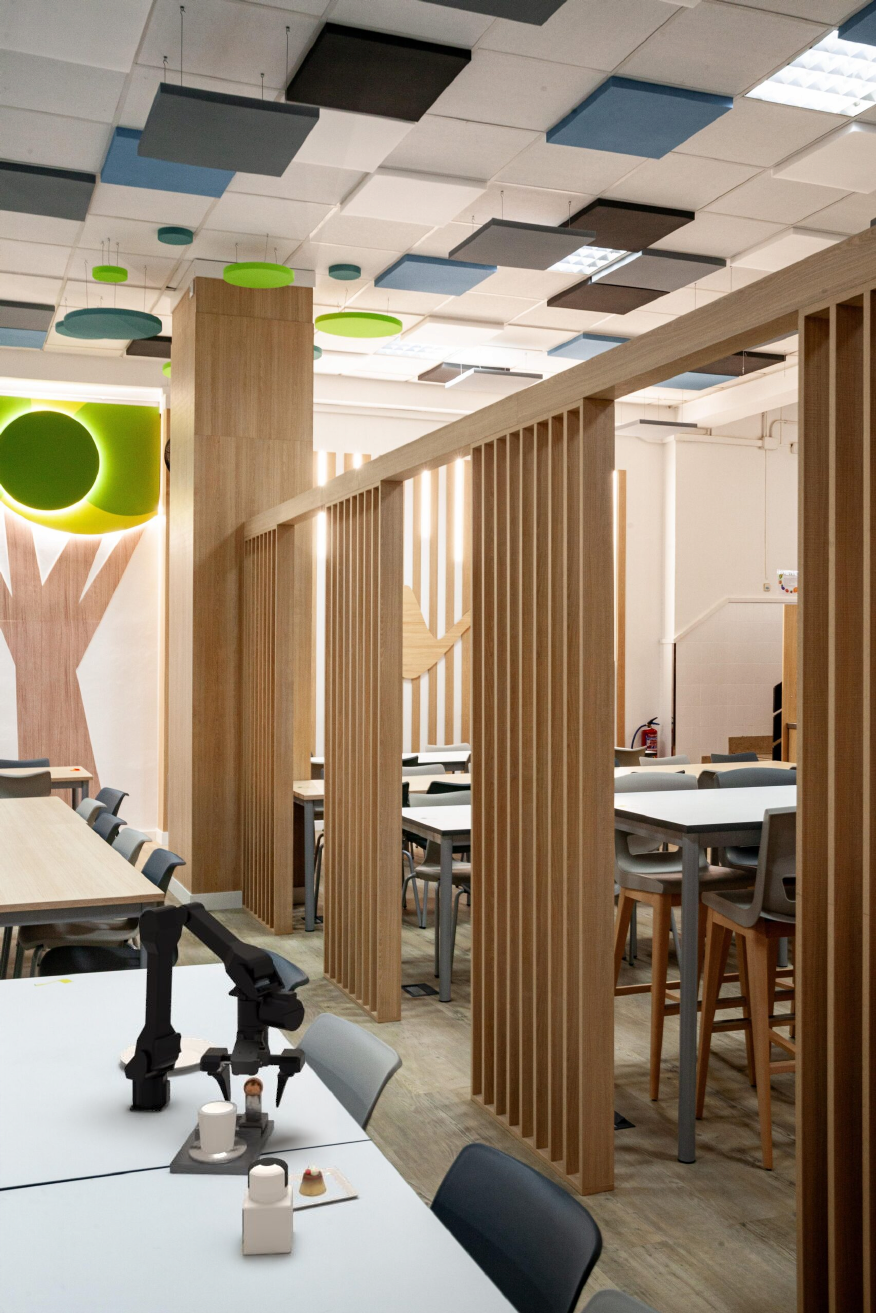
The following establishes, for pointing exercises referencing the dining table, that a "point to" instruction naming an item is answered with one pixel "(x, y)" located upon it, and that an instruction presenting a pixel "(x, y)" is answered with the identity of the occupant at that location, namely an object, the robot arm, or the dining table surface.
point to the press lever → (253, 1105)
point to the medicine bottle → (267, 1208)
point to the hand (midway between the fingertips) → (253, 1106)
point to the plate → (187, 1057)
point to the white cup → (217, 1126)
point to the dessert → (320, 1184)
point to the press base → (229, 1162)
